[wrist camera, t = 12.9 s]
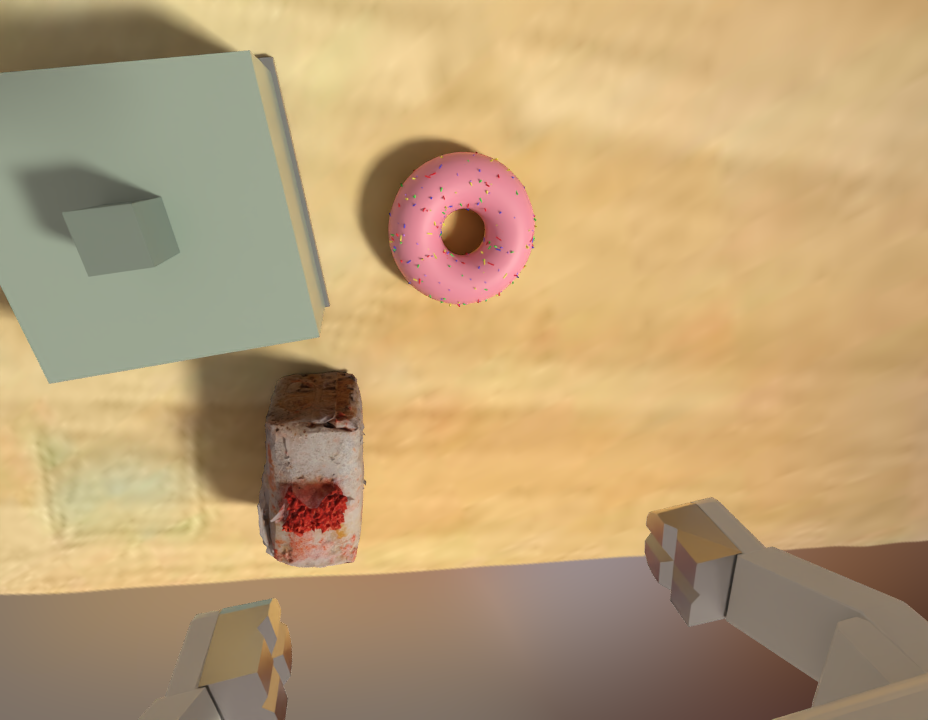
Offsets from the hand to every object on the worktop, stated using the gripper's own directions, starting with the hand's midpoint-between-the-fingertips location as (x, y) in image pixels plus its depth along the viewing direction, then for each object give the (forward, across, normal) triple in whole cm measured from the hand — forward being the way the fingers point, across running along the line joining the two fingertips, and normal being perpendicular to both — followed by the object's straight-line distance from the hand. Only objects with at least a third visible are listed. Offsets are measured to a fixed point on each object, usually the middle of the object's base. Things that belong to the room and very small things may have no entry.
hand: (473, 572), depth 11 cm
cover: (+30, +13, -5) cm, 33 cm away
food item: (+30, +8, +14) cm, 35 cm away
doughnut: (+31, -6, -2) cm, 32 cm away
